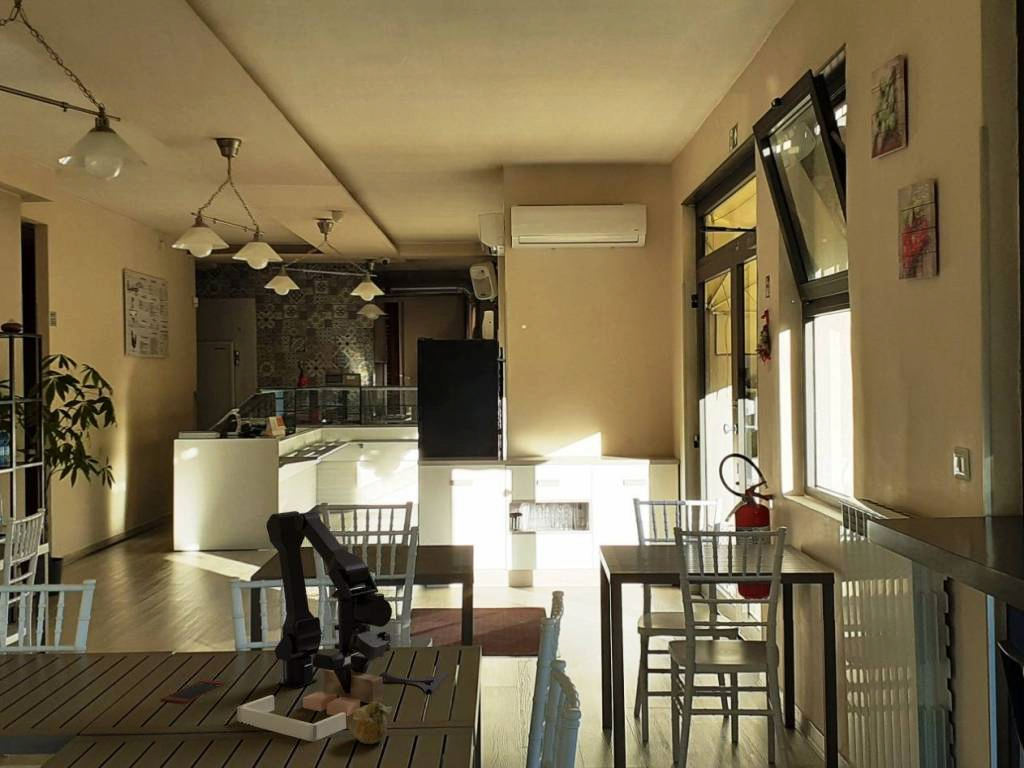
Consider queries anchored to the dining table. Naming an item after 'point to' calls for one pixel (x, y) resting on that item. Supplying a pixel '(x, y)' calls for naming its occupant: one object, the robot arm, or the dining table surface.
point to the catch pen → (287, 721)
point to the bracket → (417, 680)
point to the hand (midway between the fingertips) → (353, 691)
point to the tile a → (318, 700)
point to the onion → (369, 722)
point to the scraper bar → (356, 686)
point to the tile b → (343, 706)
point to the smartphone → (193, 691)
